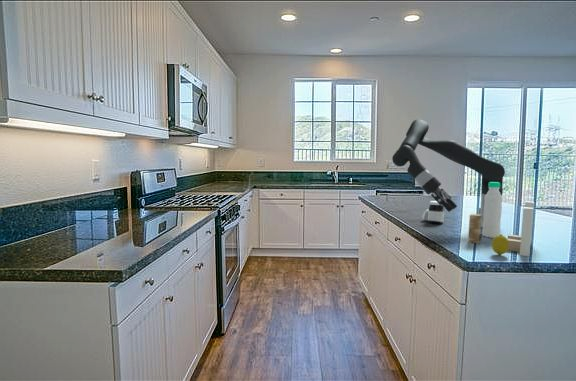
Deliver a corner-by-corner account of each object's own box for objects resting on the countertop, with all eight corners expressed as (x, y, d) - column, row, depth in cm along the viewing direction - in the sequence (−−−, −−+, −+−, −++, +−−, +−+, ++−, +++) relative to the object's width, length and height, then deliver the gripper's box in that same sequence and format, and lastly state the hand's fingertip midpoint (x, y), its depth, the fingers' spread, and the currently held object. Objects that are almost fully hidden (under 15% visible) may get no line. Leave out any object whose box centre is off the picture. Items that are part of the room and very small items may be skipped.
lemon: (487, 253, 136) (489, 232, 135) (501, 252, 137) (502, 232, 136) (497, 257, 131) (498, 236, 130) (511, 257, 131) (513, 236, 130)
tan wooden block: (468, 242, 152) (469, 214, 151) (469, 240, 155) (471, 213, 154) (480, 244, 149) (481, 216, 148) (481, 242, 153) (483, 214, 151)
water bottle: (497, 235, 165) (501, 181, 162) (501, 238, 158) (505, 183, 155) (480, 234, 167) (484, 181, 164) (483, 237, 160) (487, 182, 158)
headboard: (504, 252, 137) (507, 206, 135) (508, 241, 154) (511, 200, 152) (529, 256, 132) (533, 208, 130) (530, 243, 150) (534, 201, 148)
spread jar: (441, 225, 187) (442, 203, 185) (419, 222, 193) (420, 201, 191) (445, 221, 197) (446, 200, 195) (424, 219, 203) (425, 199, 201)
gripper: (429, 177, 154) (457, 205, 149) (437, 175, 165) (463, 201, 160) (416, 188, 158) (442, 216, 152) (425, 185, 169) (450, 212, 164)
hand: (453, 209), depth 156 cm, fingers open, 8 cm apart
